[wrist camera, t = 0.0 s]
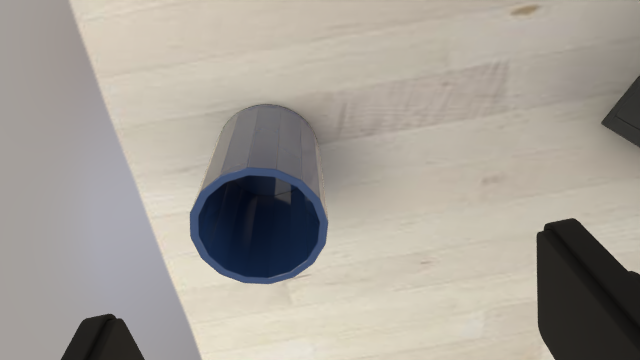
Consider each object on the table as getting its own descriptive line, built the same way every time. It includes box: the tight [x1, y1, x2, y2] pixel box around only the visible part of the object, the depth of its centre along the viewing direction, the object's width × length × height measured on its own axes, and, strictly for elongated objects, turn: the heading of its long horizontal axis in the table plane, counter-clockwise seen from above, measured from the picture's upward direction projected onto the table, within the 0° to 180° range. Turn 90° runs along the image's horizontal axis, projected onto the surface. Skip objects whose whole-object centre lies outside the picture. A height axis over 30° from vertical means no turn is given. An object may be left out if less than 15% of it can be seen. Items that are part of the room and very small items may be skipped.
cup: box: [190, 105, 328, 284], centre depth 27 cm, size 6×6×9 cm
